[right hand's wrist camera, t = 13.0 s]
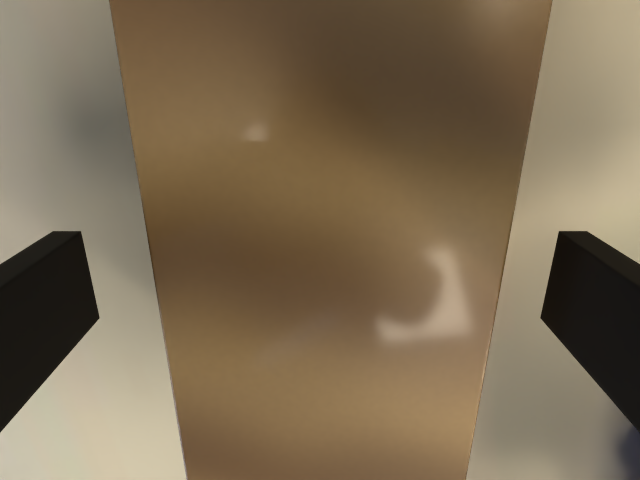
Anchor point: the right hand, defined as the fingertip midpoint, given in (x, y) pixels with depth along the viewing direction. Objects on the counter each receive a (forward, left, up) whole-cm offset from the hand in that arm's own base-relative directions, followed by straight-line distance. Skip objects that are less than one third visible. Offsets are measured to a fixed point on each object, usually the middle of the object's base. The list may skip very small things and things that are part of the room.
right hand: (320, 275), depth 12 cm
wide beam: (+17, -19, -6) cm, 26 cm away
